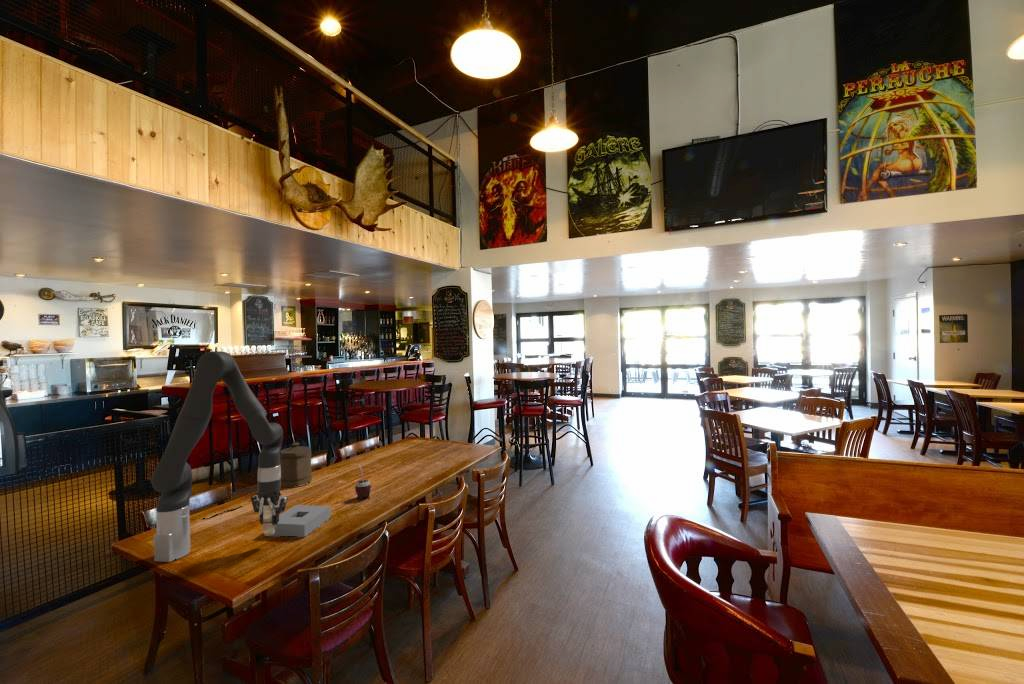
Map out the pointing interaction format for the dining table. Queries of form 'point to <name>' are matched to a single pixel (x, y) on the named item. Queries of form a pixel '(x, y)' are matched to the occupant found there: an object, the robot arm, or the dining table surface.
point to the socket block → (301, 520)
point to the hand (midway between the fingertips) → (269, 523)
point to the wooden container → (295, 465)
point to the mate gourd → (363, 488)
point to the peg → (268, 521)
